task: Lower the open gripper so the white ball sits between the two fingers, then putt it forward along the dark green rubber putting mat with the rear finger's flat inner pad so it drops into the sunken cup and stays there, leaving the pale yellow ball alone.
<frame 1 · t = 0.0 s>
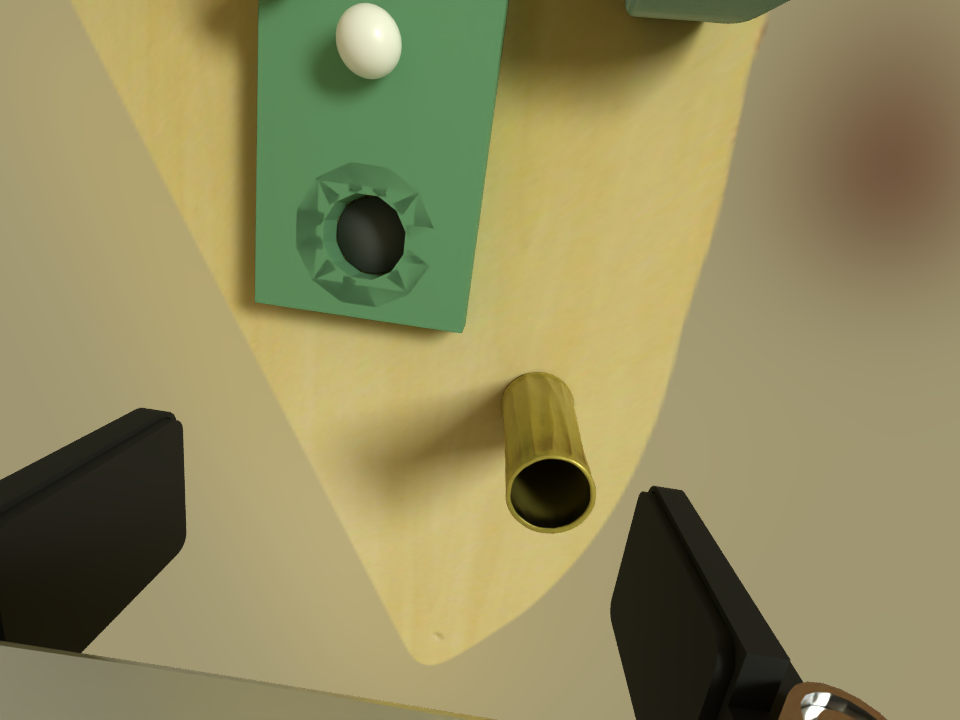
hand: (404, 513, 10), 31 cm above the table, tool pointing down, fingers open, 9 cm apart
putting mat: (381, 140, 37), on the table
white ball: (369, 42, 31), point 5 cm above the table, touching putting mat
vase: (537, 404, 43), on the table
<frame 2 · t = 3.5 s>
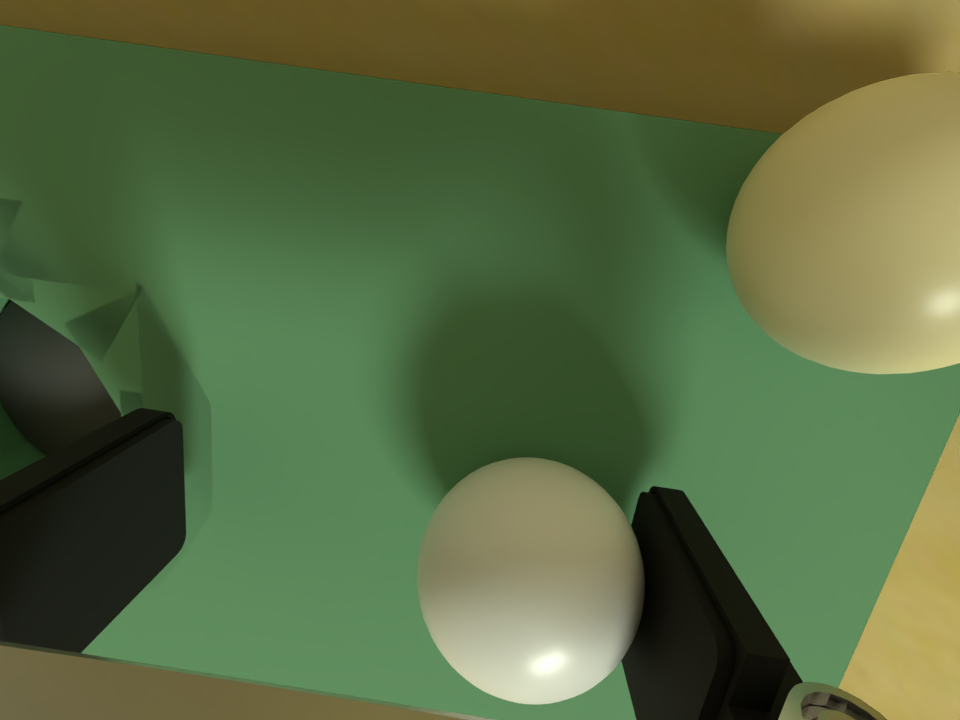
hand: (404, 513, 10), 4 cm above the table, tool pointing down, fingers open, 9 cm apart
putting mat: (344, 420, 14), on the table
white ball: (528, 570, 9), point 5 cm above the table, touching gripper, putting mat
yellow ball: (882, 233, 7), point 5 cm above the table, touching putting mat
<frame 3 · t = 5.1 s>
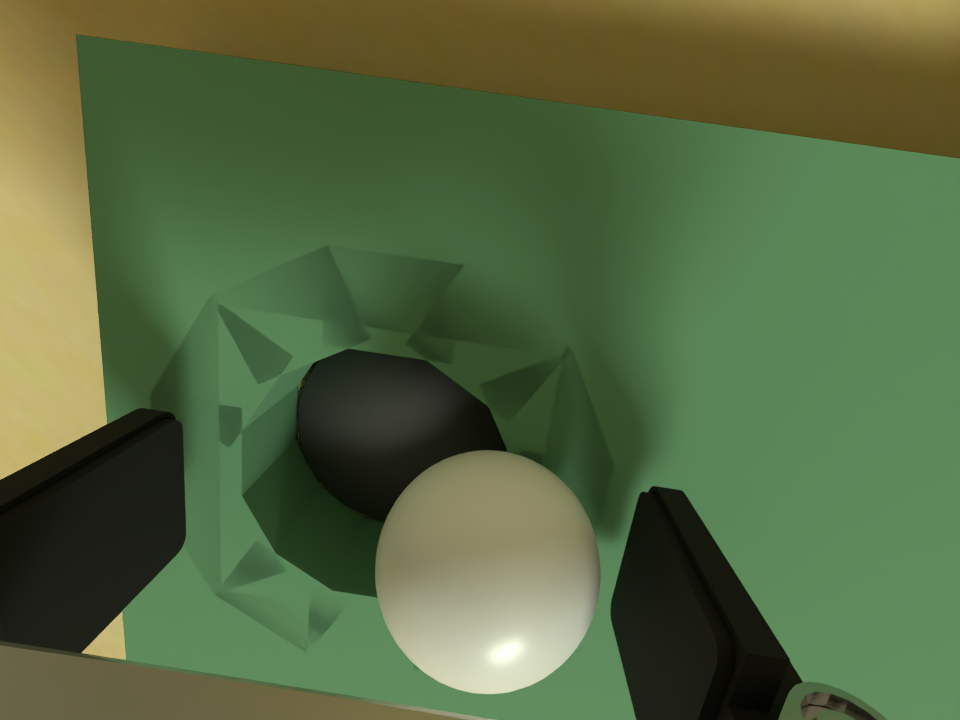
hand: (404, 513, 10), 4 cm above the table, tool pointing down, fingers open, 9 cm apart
putting mat: (654, 466, 14), on the table
white ball: (487, 561, 9), point 5 cm above the table, tilted 122°, touching putting mat
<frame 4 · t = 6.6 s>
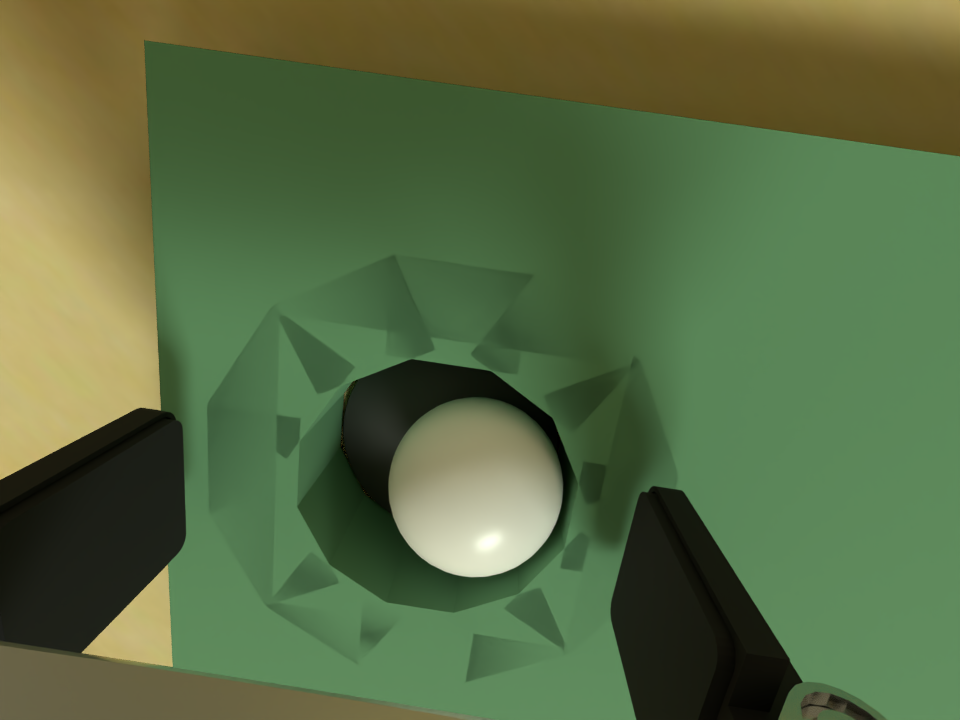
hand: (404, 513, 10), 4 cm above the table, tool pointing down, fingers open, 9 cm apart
putting mat: (703, 475, 14), on the table
white ball: (475, 483, 12), point 2 cm above the table, tilted 49°, touching putting mat
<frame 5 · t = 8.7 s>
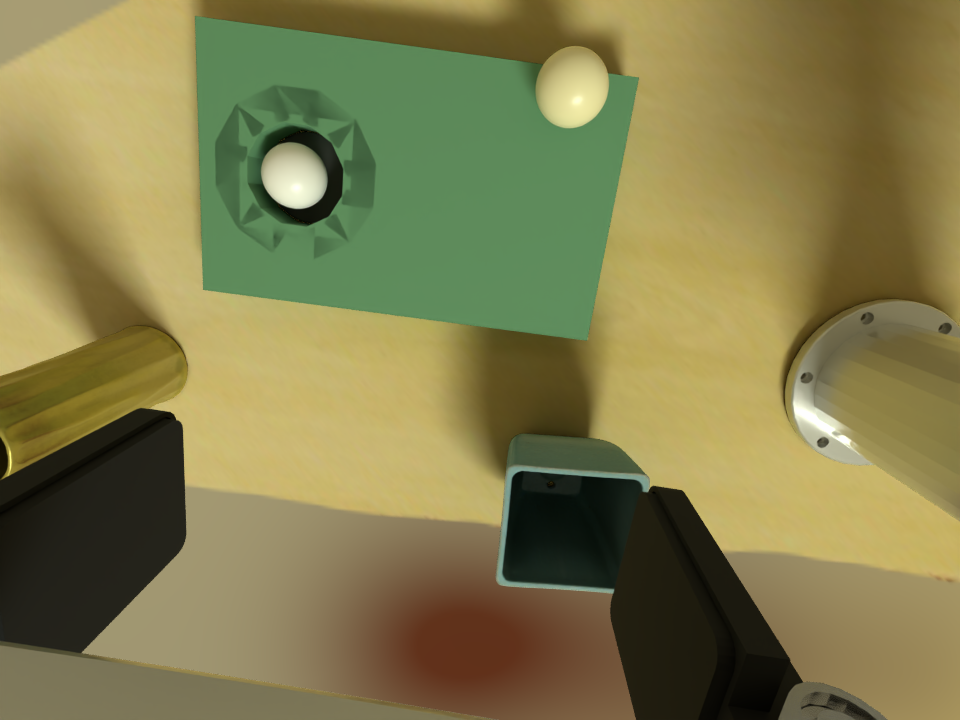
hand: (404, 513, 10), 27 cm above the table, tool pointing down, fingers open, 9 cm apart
flower pot: (553, 462, 40), on the table
putting mat: (413, 192, 34), on the table
white ball: (295, 176, 32), point 2 cm above the table, tilted 15°, touching putting mat
vase: (151, 363, 39), on the table
yellow ball: (571, 88, 28), point 5 cm above the table, touching putting mat
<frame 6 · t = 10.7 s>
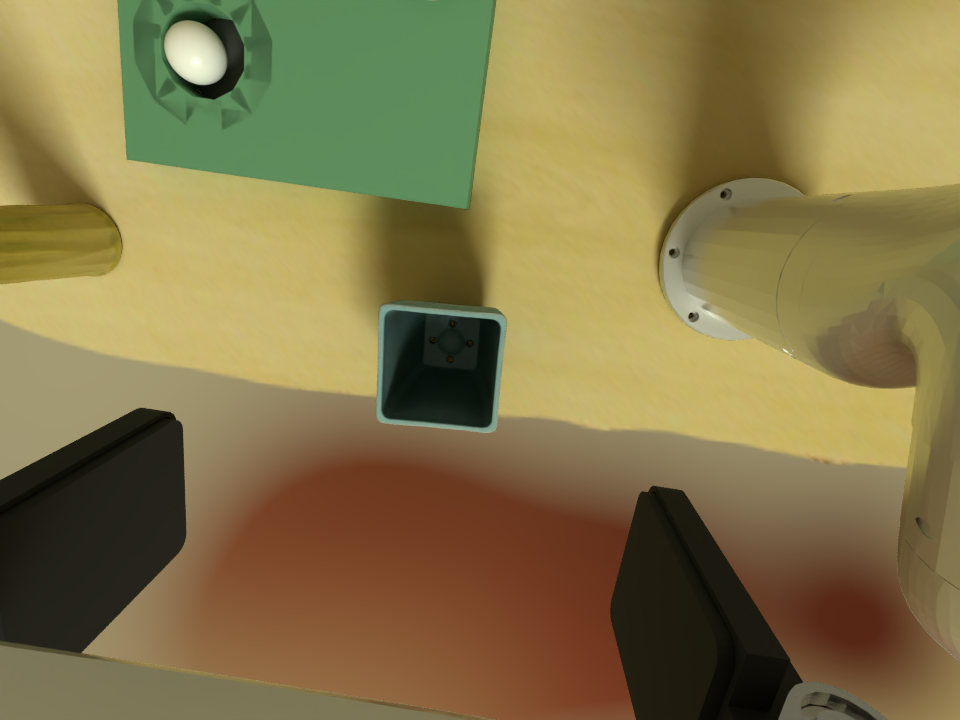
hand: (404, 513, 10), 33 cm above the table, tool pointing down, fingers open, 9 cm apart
flower pot: (453, 339, 44), on the table
putting mat: (315, 76, 38), on the table
white ball: (196, 53, 36), point 2 cm above the table, touching putting mat
vase: (90, 240, 43), on the table
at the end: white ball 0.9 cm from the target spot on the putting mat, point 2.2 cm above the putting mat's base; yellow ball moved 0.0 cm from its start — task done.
